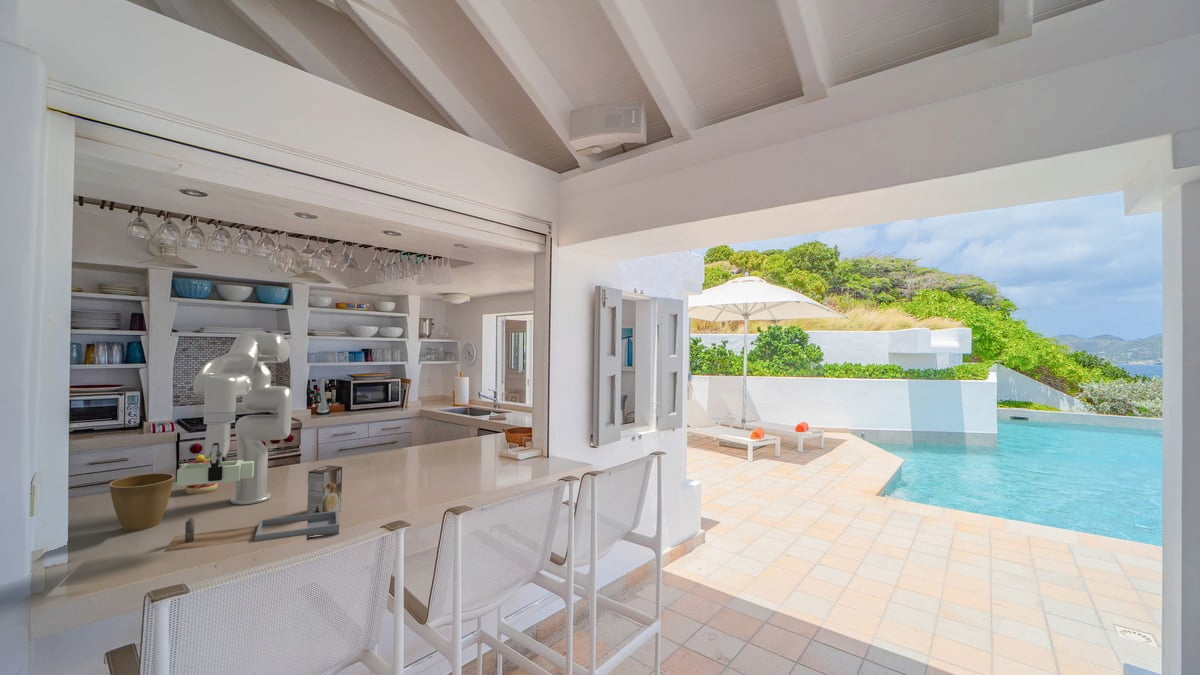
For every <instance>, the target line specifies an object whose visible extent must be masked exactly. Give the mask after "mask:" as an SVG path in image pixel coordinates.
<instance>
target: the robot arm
mask: <svg viewBox="0 0 1200 675" xmlns="http://www.w3.org/2000/svg"><path fill="white" fill-rule="evenodd" d="M290 353H291V348H290V344H289V343H288V341H287V340H286V339H285V338H284V336H282V335H280V334H279V333H276V332H256V331H253V332H252V331H248V332H242V333H241V334H239V335H237V336H236V338H235V340H234V341H233V344H232V345H231V346H230V349H229V350H228V353H226V354H224V355H221V356H218V357H216V358H215V359H212V360H210V361H208V362H205V364H203V365H202V367H201V368H200V370H199V371H198V373H197V375H195V379H194V381H193V387H192V389H193V392H194V394H195V395H196V396H197V397H199V398H204V407H203V424H204V425H207V426H206V430H205V442H204V450H203V455H204V458H208V457H209V456H210V462H209V468H208V481H219V480H222V467H223V466H221V464H222V461H228V453H229V450H230V448H231V447H230V446H231V425H232V423H235V425H234V427H235V428H234V429H235V430H234V431H235V436H236V437H235V438H236V446H237V448H236V449H237V453H236V454H237V456H236V460H243V462H246V461H254V474H253V477H252V478H243V479H240V480H239V481H235V495H234V496H231V498H230V501H229V502H230V503H231V504H232V505H252V504H253V505H254V504H258V503H261V502H265V501H268V500H270V499H271V498H272V493H271V492H269V491H268V490H267V486H268V467H269V464H268V461H269V460H268V458H269V451H268V448H267V446H265V444H264V443H263V442H262V441H277V440H278V441H279V440H284V439H288V437H289V436H290V434H291V431H292V430H291V429H292V415H293V392H292V390H291V388H289V387H288V386H285V385H272V384H271V382H272V372H271V371H270V369H269V368H268V366H267V365H266V364H265V363H271V364H272V363H276V364H277V363H278V364H280V363H285V362H287V360H289V357H290ZM237 398H242V402H241V403H242V408H243V409H244V410H246V411H248V412H276V413H277V414H249V415H244V416H242V417H239V419H237V421H236V415H237V414H236V413H237V411H236V410H237Z"/></svg>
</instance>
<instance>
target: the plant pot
mask: <svg viewBox="0 0 1200 675" xmlns="http://www.w3.org/2000/svg"><path fill="white" fill-rule="evenodd" d="M174 481H175V475H174V474H173V473H172V474H171V473H164V472H163V473H162V472H157V473H155V472H153V473H144V474H137V475H136V474H135V475H130V476H126V477H121V478H118V479H116V480H114V481H111V482H110V483H109V492H110V497H111V500H112V504H113V508H114V512H115V514H116V517H117V520H118V522H119V524H120V526H121V528H122V530H123V531H127V532H134V531H135V532H136V531H143V530H149V529H150V528H151V529H152V528H154V527H157V526H158V525H160V523H161V521H162V519H163V516H164V514H165V511H166V509H167V506H168V504H169V499H170V497H171V494H172V489H173V485H174Z"/></svg>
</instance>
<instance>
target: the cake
mask: <svg viewBox="0 0 1200 675" xmlns="http://www.w3.org/2000/svg"><path fill="white" fill-rule="evenodd" d="M207 462H210V456H209V457H208V458H204V454H199V455H197V456H196V457H195V460H194V461H191V462H189V463H188V462H187V464H193V463H207ZM218 485H219V483H208V484H197V485H185V494H187V495H201V494H208V493H213V492H215V491H217V490H218V489H219V488H218Z"/></svg>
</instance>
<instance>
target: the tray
mask: <svg viewBox="0 0 1200 675" xmlns="http://www.w3.org/2000/svg"><path fill="white" fill-rule="evenodd" d="M300 521H307V527H304V528H303V527H302V528H296V529H290V530H289V529H288V530H281V531H273V532H266V533H262V529H263V526H269V525H276V524H277V525H278V524H284V523H292V522H300ZM301 535H306V538H307V537H309V536H314V535H325V536H324V537H326V536H334V535H340V517H339V512H338V511H331V512H323V513H314V514H307V513H305V514H299V515H291V516H282V517H276V518H265V519H260V520H259V524H258V526H257V529H256V532H255V536H254V541H255V542H257V541H264V540H271V539H278V538H286V537H292V536H301Z"/></svg>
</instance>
